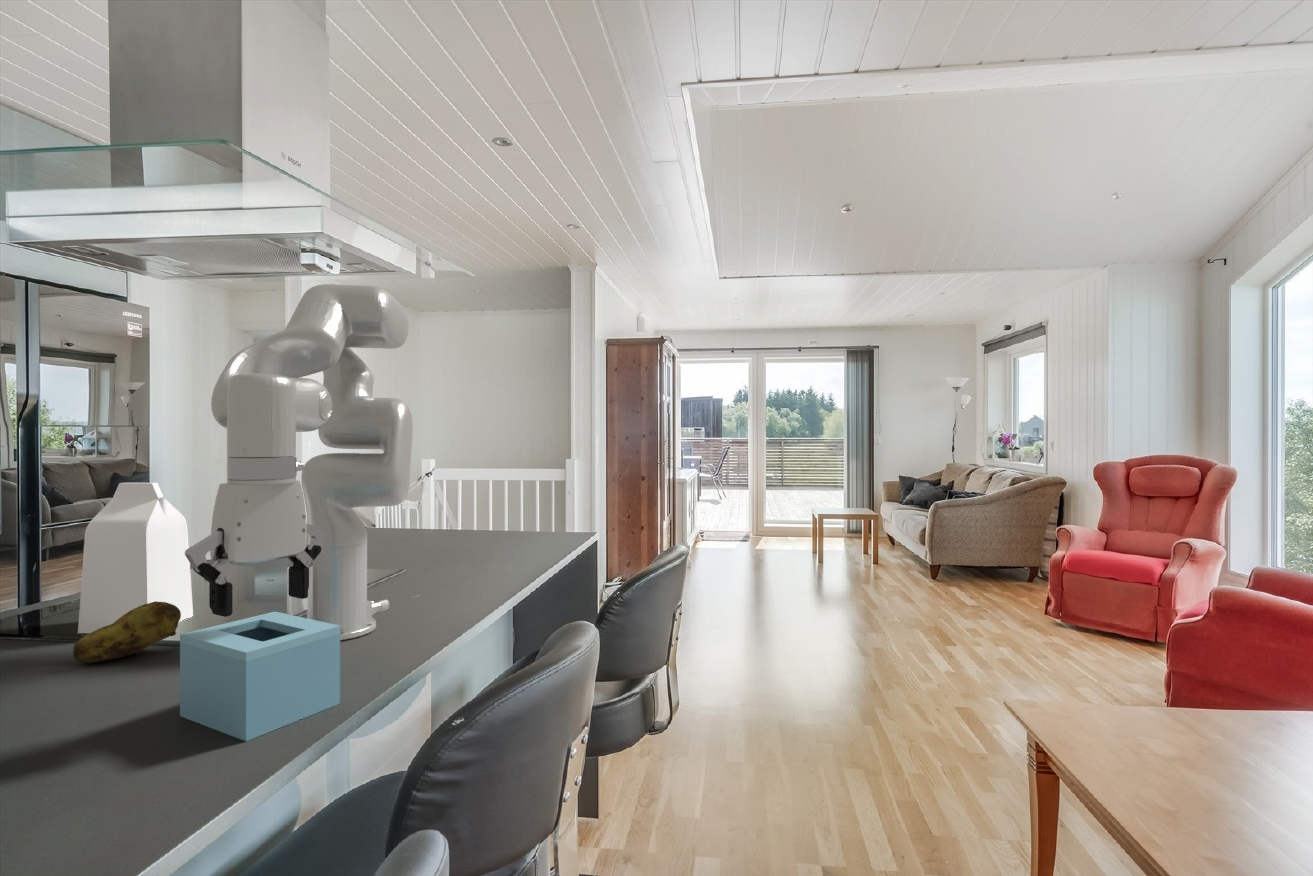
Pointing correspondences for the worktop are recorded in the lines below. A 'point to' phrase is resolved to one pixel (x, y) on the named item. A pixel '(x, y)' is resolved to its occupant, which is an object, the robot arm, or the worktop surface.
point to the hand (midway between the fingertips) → (262, 605)
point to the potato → (129, 633)
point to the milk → (134, 557)
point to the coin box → (259, 673)
